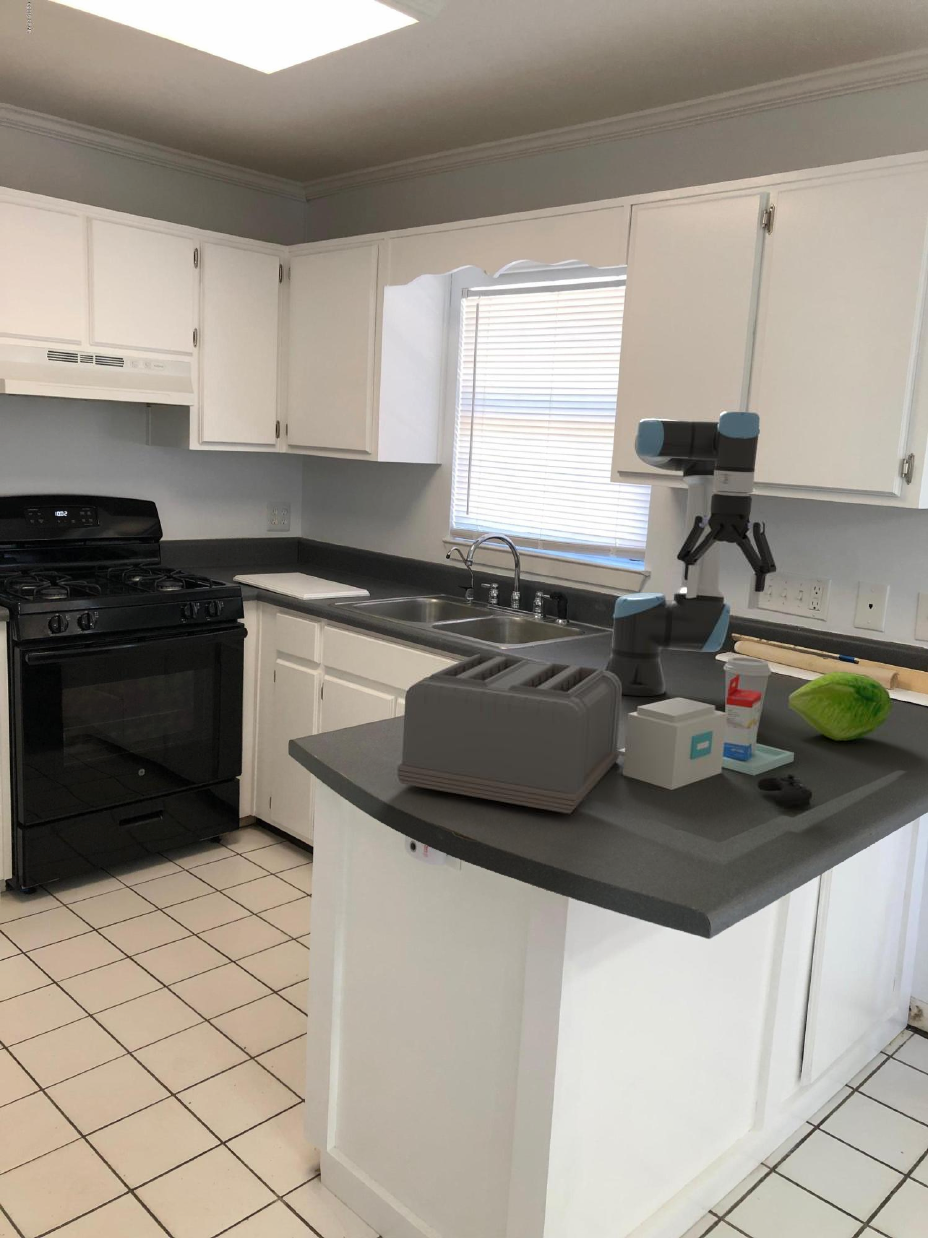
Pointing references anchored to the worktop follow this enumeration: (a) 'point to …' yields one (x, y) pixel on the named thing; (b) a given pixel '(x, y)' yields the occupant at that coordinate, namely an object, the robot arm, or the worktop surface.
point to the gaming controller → (786, 790)
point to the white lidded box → (674, 742)
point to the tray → (760, 760)
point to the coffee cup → (748, 675)
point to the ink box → (741, 721)
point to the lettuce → (842, 704)
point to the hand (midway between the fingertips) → (721, 602)
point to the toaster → (512, 731)
